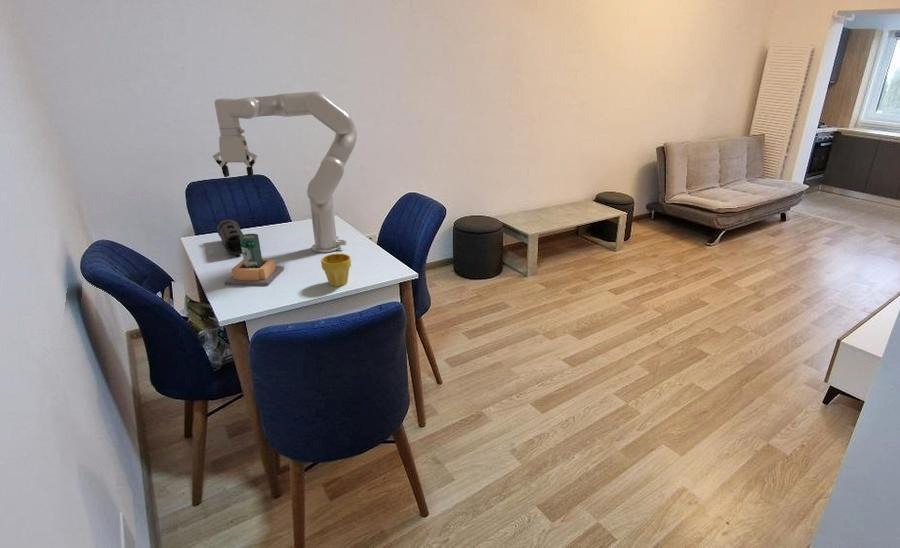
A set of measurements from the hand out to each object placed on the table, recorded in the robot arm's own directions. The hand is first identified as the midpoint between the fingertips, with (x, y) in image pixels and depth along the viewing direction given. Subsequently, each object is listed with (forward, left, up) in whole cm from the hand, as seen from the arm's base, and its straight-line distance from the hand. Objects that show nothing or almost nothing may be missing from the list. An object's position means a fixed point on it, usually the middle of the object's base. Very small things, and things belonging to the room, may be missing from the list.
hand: (238, 176), depth 184 cm
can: (-12, +25, -32) cm, 42 cm away
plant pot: (-45, +30, -34) cm, 64 cm away
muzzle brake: (+12, -8, -34) cm, 37 cm away
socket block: (-12, +25, -33) cm, 43 cm away
